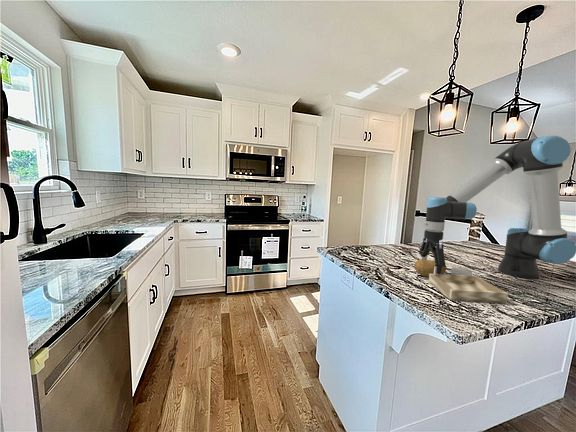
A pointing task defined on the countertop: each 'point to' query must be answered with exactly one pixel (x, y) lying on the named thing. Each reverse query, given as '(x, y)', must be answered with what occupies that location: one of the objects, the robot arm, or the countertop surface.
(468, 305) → the countertop surface
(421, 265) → the potato
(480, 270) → the countertop surface
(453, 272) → the white rounded piece
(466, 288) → the tray
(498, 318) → the countertop surface
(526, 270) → the robot arm
